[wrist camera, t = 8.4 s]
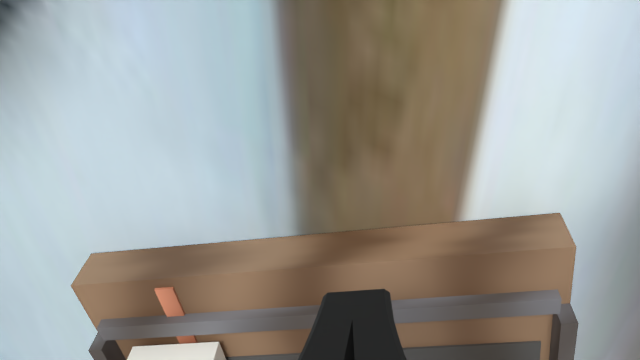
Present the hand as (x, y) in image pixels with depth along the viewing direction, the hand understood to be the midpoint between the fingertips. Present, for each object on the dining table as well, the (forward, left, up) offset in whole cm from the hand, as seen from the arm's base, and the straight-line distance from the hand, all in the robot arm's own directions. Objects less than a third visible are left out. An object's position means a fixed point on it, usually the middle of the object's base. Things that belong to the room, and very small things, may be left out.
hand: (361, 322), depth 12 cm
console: (+3, +11, -9) cm, 15 cm away
